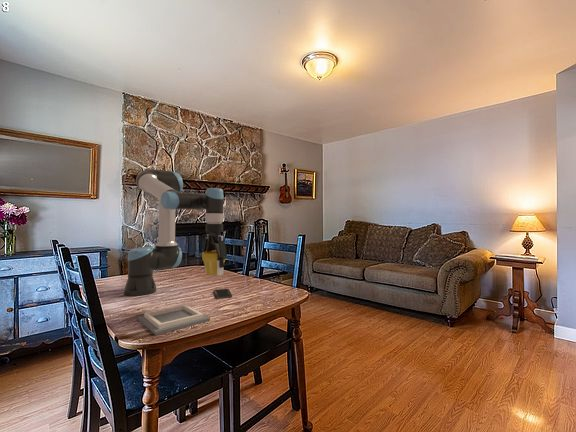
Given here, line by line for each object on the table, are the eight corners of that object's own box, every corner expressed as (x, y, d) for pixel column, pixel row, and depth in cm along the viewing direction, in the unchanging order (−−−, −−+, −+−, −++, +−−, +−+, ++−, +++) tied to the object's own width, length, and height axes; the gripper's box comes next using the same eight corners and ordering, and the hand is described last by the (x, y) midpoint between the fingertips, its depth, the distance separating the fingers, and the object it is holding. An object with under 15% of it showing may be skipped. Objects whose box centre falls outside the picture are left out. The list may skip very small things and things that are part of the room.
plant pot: (208, 277, 123) (208, 254, 123) (198, 273, 130) (198, 251, 130) (230, 274, 130) (230, 252, 129) (219, 270, 137) (219, 249, 137)
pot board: (137, 319, 113) (137, 312, 113) (187, 308, 127) (187, 302, 127) (155, 335, 99) (155, 327, 99) (209, 320, 112) (209, 314, 112)
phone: (216, 297, 141) (213, 289, 156) (216, 299, 141) (213, 291, 156) (232, 296, 144) (228, 288, 158) (232, 298, 144) (228, 290, 158)
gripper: (235, 223, 124) (235, 276, 124) (209, 222, 141) (209, 268, 141) (219, 224, 119) (219, 278, 119) (195, 222, 136) (194, 270, 136)
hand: (214, 273), depth 130 cm, fingers closed on plant pot, 10 cm apart
